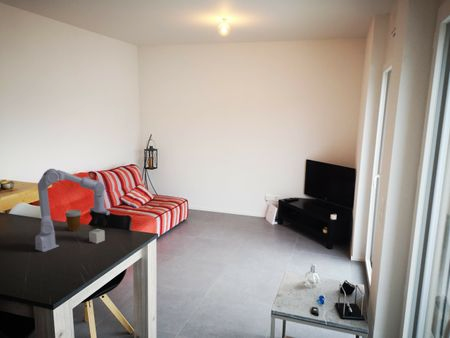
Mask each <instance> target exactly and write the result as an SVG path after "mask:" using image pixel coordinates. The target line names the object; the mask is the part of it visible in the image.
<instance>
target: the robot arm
mask: <svg viewBox="0 0 450 338" xmlns="http://www.w3.org/2000/svg"><path fill="white" fill-rule="evenodd" d="M65 180H67V181H69V182H74V183H76V184H79V186H80V188H84V189H86V190H90V191H93V206H91V207H89V215H90V217H91V219H92V222H93V224H94V225H96V224H98V221H99V220H98V219H99V218H98V217H99V216H100V218H101V223H102V226H103V227H105V226H107V223H108V221H109V217H110V216H111V213H110V210H107V207H105V189H106V188H105V185H104V184H103V182H101V181H100V180H97V179H95V180H94V179H91V178H90V177H89V176H83V177H79V176H77V175H74V174H72V173H69V172H65V171H63V170H60V169H55V168H49V169H47V170H46V171H44V173H42V176H41V178H40V179H39V181H38V183H37V190H38V191H37V192H38V201H39V208H40V217H41V221H40V231H39V233H38V234H37V235H36V236H35V237H34V240H35V242H34V243H35V248H34V249H35V250H37V251H39V252H42V253H45V252H48V251H51V250H53V249H55V248H58V247H60V245H59V244H56V232H55V228H54V222H53V220H52V217H51V209H50V202H49V201H50V200H49V193H48V188H49V187H50V186H52V185H54V184H55V183H57V182H58V181H65ZM99 214H100V215H99Z"/></svg>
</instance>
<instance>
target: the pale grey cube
mask: <svg viewBox="0 0 450 338" xmlns="http://www.w3.org/2000/svg"><path fill="white" fill-rule="evenodd" d="M105 234H106V233H105V230H104V229H99V228H96V229H92V230H90V231H89V232H88V236H89V242H91V243H94V244H99V243H102V242H104V241H106V239H105V238H106V235H105Z"/></svg>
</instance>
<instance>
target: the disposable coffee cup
mask: <svg viewBox="0 0 450 338" xmlns="http://www.w3.org/2000/svg"><path fill="white" fill-rule="evenodd" d="M64 215H65V219H66V223H67V229H68V231H69V232H76V231H79V230H80V226H81V216H82V211H81V210H80V209H68V210H66V211H65V213H64Z"/></svg>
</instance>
